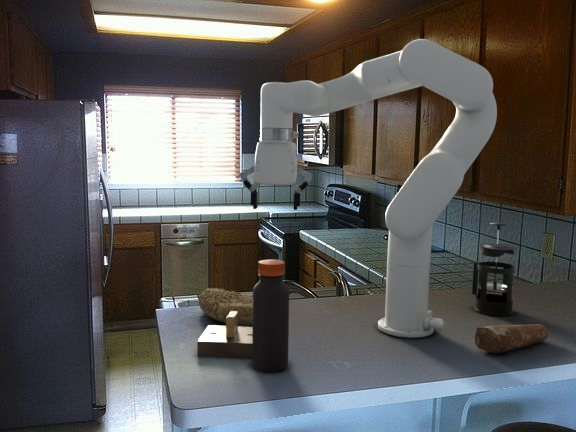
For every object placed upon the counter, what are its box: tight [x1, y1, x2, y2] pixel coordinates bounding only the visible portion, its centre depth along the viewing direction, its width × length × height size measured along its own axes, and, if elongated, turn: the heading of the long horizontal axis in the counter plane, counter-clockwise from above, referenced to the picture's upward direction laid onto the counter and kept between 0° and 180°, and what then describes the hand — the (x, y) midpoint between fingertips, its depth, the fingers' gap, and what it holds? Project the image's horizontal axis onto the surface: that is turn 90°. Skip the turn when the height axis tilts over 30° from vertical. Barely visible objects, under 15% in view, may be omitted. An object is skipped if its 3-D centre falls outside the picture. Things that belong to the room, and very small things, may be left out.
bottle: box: [251, 258, 290, 373], centre depth 105 cm, size 7×7×20 cm
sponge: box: [198, 287, 253, 326], centre depth 132 cm, size 13×8×20 cm
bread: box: [474, 323, 549, 354], centre depth 117 cm, size 6×19×6 cm, turn 119°
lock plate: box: [197, 324, 253, 359], centre depth 114 cm, size 12×10×3 cm
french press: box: [471, 221, 517, 317], centre depth 143 cm, size 12×9×23 cm
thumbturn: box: [225, 311, 239, 338], centre depth 114 cm, size 5×2×4 cm, turn 175°
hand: (275, 208), depth 134 cm, fingers open, 9 cm apart
